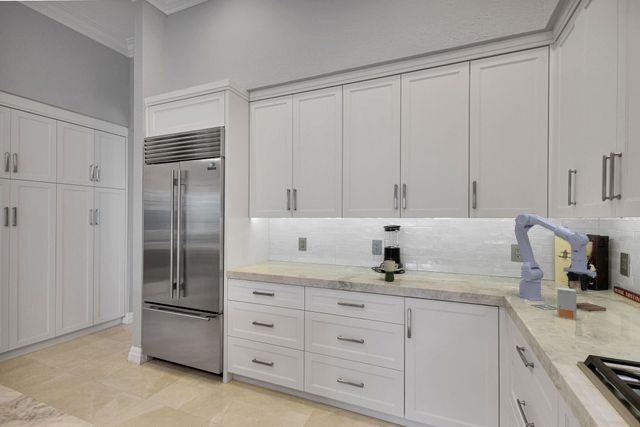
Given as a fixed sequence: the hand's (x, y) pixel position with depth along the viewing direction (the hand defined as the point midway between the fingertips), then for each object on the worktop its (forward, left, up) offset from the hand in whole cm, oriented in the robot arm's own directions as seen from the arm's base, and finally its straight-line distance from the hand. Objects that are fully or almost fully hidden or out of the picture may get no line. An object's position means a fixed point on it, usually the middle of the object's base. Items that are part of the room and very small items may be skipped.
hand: (579, 289), depth 154 cm
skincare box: (+11, -18, -9) cm, 23 cm away
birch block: (0, 0, -2) cm, 2 cm away
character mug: (-79, -60, -9) cm, 100 cm away
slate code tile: (-4, -14, -9) cm, 17 cm away
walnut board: (+1, +4, -9) cm, 9 cm away
